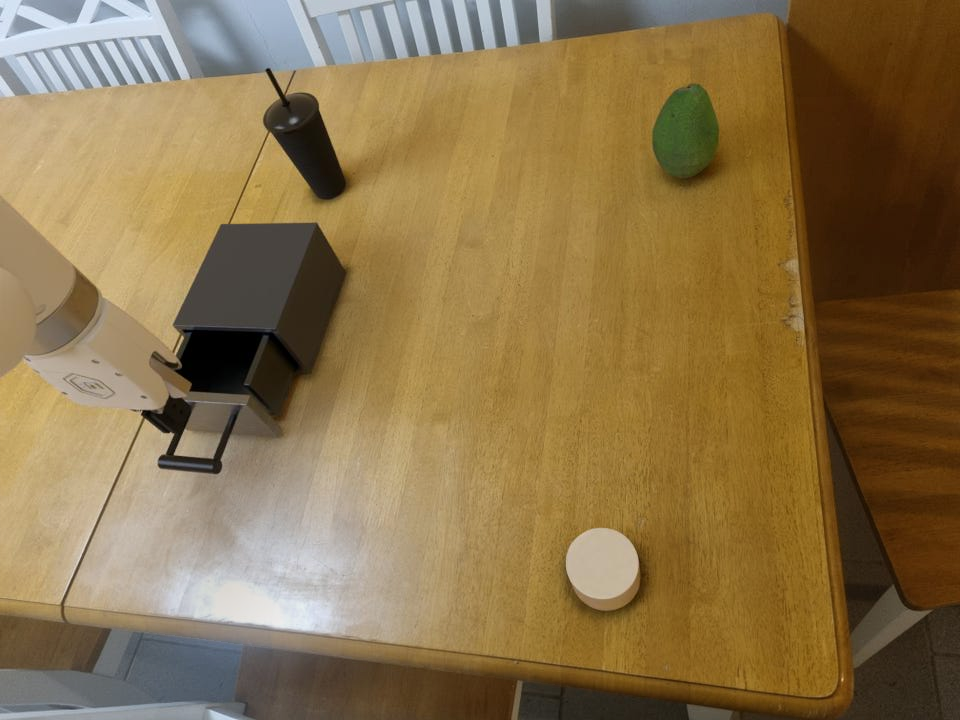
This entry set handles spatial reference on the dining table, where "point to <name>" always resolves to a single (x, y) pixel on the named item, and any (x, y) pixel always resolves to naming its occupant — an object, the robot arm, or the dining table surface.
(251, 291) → the cabinet
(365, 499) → the dining table surface
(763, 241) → the dining table surface
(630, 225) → the dining table surface
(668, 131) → the fruit
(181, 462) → the drawer
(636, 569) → the white cylindrical puck
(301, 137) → the drinking cup
